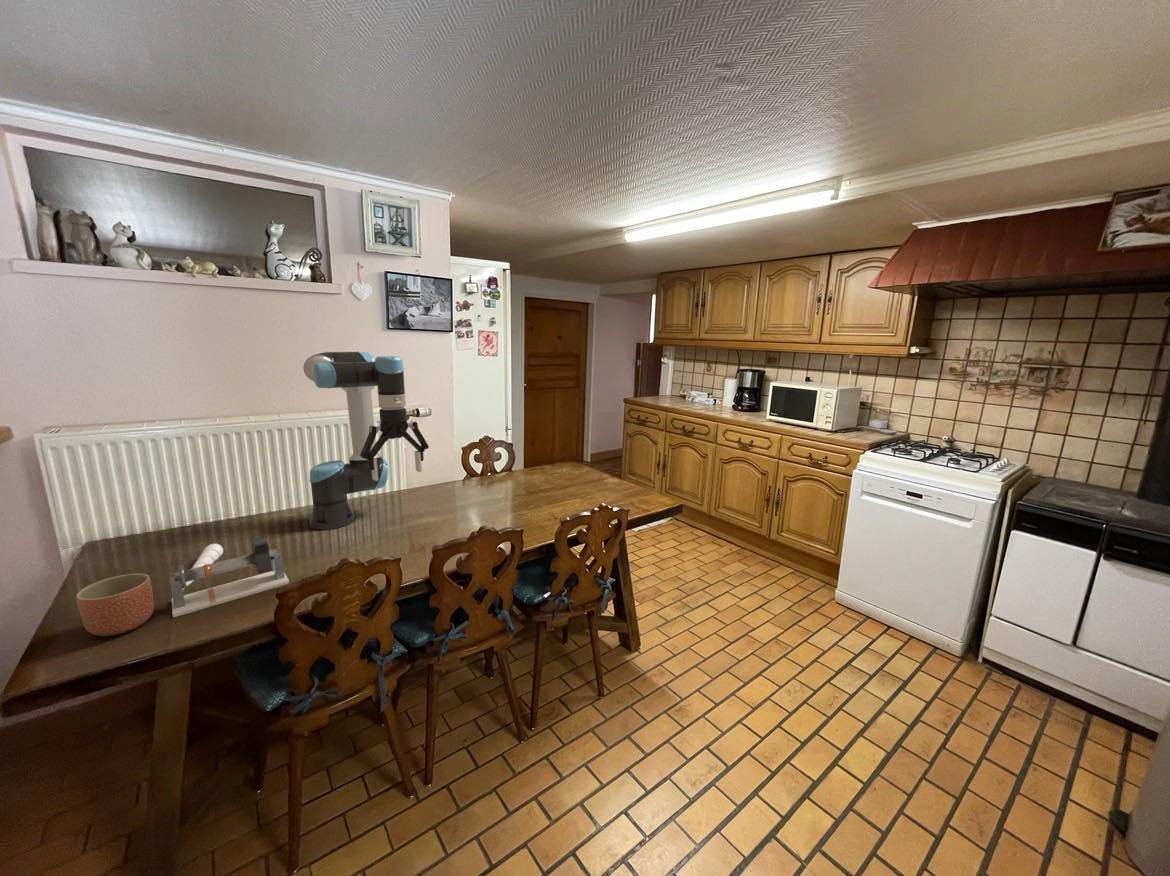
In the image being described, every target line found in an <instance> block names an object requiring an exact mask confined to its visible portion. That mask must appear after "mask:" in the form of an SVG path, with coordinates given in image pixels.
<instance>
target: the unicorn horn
mask: <svg viewBox="0 0 1170 876" xmlns="http://www.w3.org/2000/svg"><path fill="white" fill-rule="evenodd" d="M223 553H224V547H222V545H220V544H218V543H211V544H209V545H207V546H206V547H205V548H204V549H203V551H202V552H201V553H200V555H199V556H198V558H197V560H196V561H195V562H194V564H193V566H192V567H191V569H193V568H197V567H201V566H203V565H207V564H213V563H215V562H216V561H217V560H218V559H219V558H220V557H221V556H222V555H223ZM193 582H194V580H192V581H188V582H186V586H187V587H188V586H190V585H191V584H192V583H193ZM185 589H186V588H184V589H183V590H185Z"/></svg>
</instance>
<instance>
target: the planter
mask: <svg viewBox="0 0 1170 876" xmlns="http://www.w3.org/2000/svg"><path fill="white" fill-rule="evenodd" d="M75 598H76V599H75V601H76V606H77V607H78V611H79V614H80V616H81V620H82V624H83V625H84V628H85V630H86V631H87V632H88V633H90V634H91V635H95V636H100V637H113V636H117V635H122V634H125V633H129V632H130V631H134V630H135V629H137V628H139V627H140V626H142V625H143V624H144V623H145V622H147V620H149V618H150V617H151V616H152V614H153V612H154V608H155V601H154V595H153V587H152V581H151V577H150V575H148V574H146V573H137V572H136V573H128V574H121V575H117V576H116V575H115V576H111V577H109V578H104V579H102V580H99V581H96V582H93V583H92V584H90V585H87V586H86V587H85V586H84V587H83V588H82V589H80V590H78V592H77V593H76V595H75Z"/></svg>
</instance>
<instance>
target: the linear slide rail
mask: <svg viewBox="0 0 1170 876" xmlns="http://www.w3.org/2000/svg"><path fill="white" fill-rule="evenodd" d="M269 554H270V561H271V564H272V569H273V570H272V571H274V576H275V577H276V579H277V580H278V579H281V578H285V575H284V573H285V567H284V561H283V560H284V559H283V555H282V552H281V551H280V550H279V549H278V550H277V548H276V547H275V548H271V549H269ZM255 564H257V561H256V554H255V553H254V554H253V553H251V554H245V555H241V556H238V557H234V558H231V559H230V558H229V559H225V560H221V561H219V562H213V563H212V564H207V565H203V566H201V567H197V568H193V569H192V568H189V569H184V565H183V564H182V565H181V564H180V565H178V572H177V571H176V572H174V573H173V575H174V576H170V577H169V585H170V590H171V595H172V598H173V602H174V607H175V609H176V608H180V607H183V606H185V600H184V595H185V594H184V590H185V589H188V588H187V587H188V586H186V582H188V581H192V580H193V581H197V580H198V579H203V578H210V577H212V576H214V575H219V574H223V573H227V572H230V571H234V570H239V569H242V568H246V567H249V566H253V565H254V566H255ZM184 588H185V589H184Z"/></svg>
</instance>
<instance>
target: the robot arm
mask: <svg viewBox="0 0 1170 876" xmlns="http://www.w3.org/2000/svg"><path fill="white" fill-rule="evenodd" d="M404 370H405V368H404V363H403V359H402V357H401V356H394V355H393V356H392V355H387V356H386V355H381V356H376V358H374V356H373V355H372V354H371V353H370V352H367V351H325V352H320V353H316V354H314V355H311V356H309V357H308V358H307V359H306V360H305V362H304V364H303V372H304V375H305V376H306V377H307V378H308V379H309V380H310V381H311V382H314V384H315V387H317V388H318V389H339V388H340V389H342V390H343V391H344V392H345V393H346V402H347V410H348V412H347V413H348V421H349V428H350V437H351V438H350V439H351V448H352V455H350V456H349V459H348V460H349V462H348V463H345V462H344V461H343V460H330V461H325V462H322V463H318V464H316V465H314V466H313V467H312V468H310V470H309V483H310V490H311V497H312V499H311V500H312V509H311V513H310V516H309V526H310V527H309V528H311V529H313V530H318V531H321V530H322V531H325V530H327V531H328V530H334V529H338V528H342V527H345V526H347V525H348V526H349V525H350V524H352V523H353V522H354V521H355V513H354V511H353V508H352V507H351V505H350V502H349V501H348V495H349V494H356V493H360V492H366V491H367V492H368V491H375V490H376V489H381V488H384V487H385V486H386V484H387V481H388V476H389V466H388V462H387V460H386V459H385V458H383V457H382V454H381V453H380V452H379V451H380V450H381V449H382V447H384V445H385V444H386V442H387V441H388V440H389V439H390V440H394V439H402V437H403V438H404V440H406V441H407V442H408V443H409V444H410V445H411V446H412V447H414V448H415V450H414V463H415V464H414V465H415V471H416V472H418V473H423V471H422V470H423V469H422V462H423V461H424V460H425V459H424V452H425V450H428V449H429V447H430V446H429V444H428V443H427V441H426V439H425V438H424V436H423V434H422V433H421V431H420V429H419V426H418V425H419V424H418V422H417V421H414V420H411V421H410V422H408V421H407V419H408V418H407V417H408V416H407V409H406V408H405V407H406V406H407V405H406V404H407V403H406V391H405V375H404V372H405V371H404ZM375 387H377V395H378V396H377V399H378V407H379V408H380V409H379V422H380V423H379V425H378V426H376V425H375V420H374V419H375V418H374V408H373V400H372V399H373V398H372V391H373V390H374V388H375ZM408 429H411V431H412V432H413V434H414V435H415V438H416V439H417V441H418V442H419V443H418V442H417V441H416V440H415V439H414V438H413V437H412V436H411V435H410V434H409V433H408V431H407V430H408ZM379 431H380V432H381V433H380V436H379V438H378V439H377V434H378V433H379Z"/></svg>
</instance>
